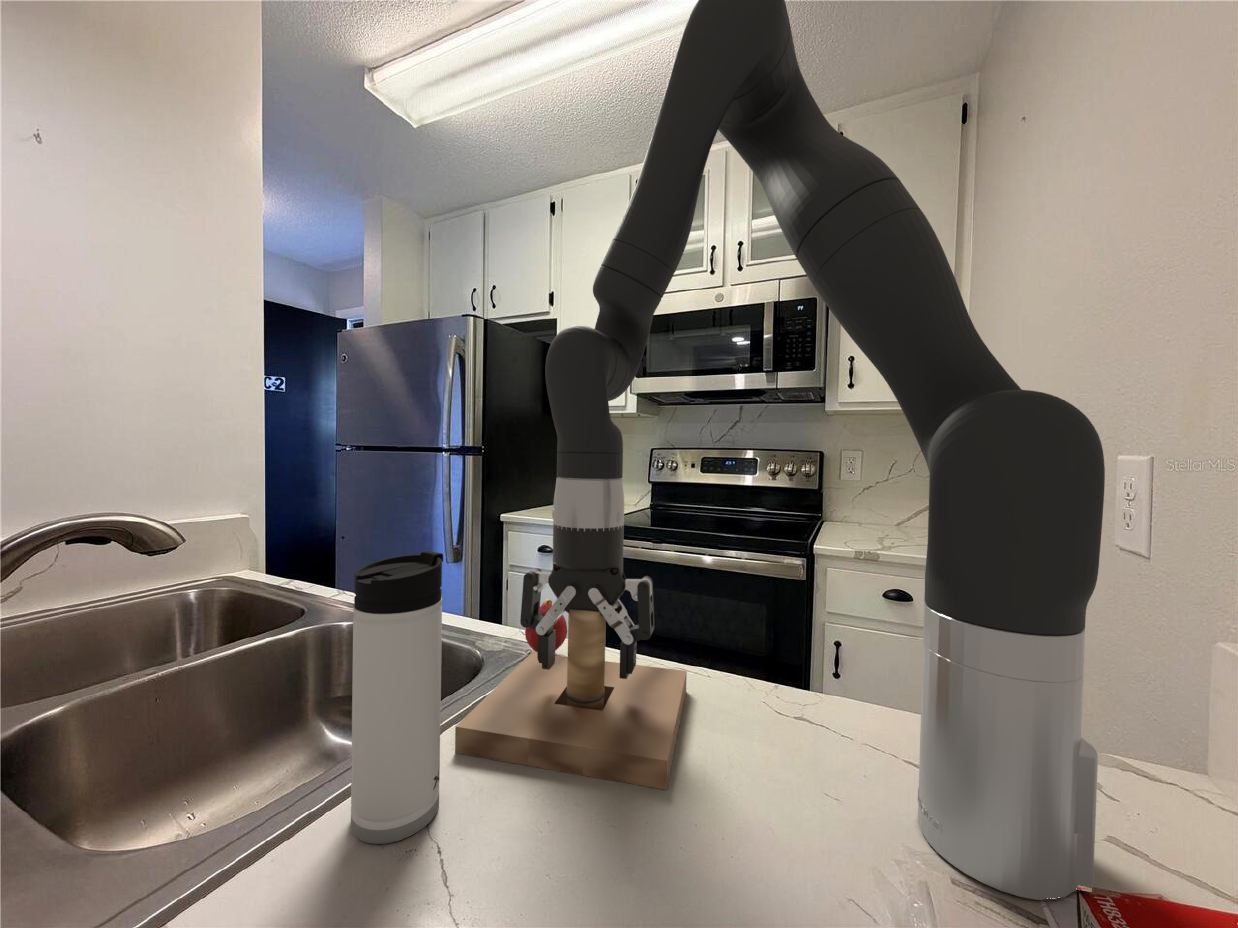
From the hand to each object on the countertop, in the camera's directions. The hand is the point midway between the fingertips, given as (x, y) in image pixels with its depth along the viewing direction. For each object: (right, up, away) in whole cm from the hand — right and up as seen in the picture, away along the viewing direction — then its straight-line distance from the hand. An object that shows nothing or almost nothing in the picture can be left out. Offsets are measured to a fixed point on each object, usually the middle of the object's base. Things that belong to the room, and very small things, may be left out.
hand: (585, 671), depth 52 cm
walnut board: (0, -5, 0) cm, 5 cm away
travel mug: (-14, -5, -14) cm, 20 cm away
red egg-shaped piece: (-7, -5, +16) cm, 18 cm away
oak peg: (0, -5, 0) cm, 5 cm away
